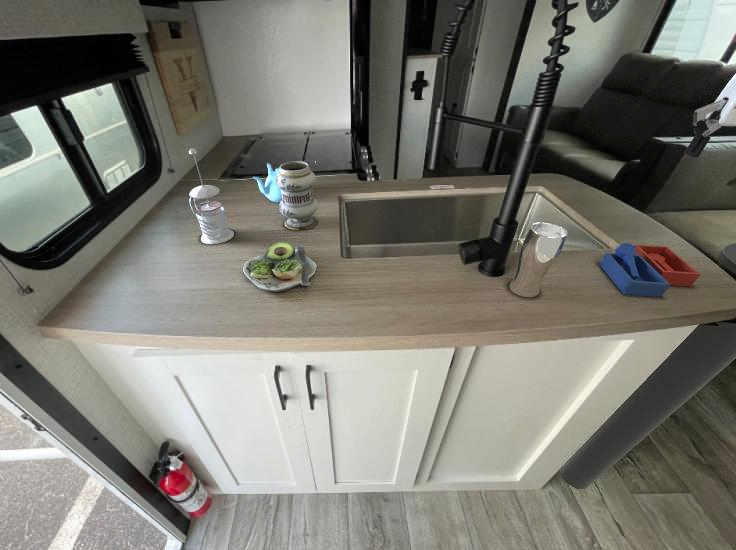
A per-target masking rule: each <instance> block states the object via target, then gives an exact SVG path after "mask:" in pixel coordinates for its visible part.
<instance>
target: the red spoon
mask: <svg viewBox="0 0 736 550" xmlns="http://www.w3.org/2000/svg"><path fill="white" fill-rule="evenodd" d="M648 255H649V256H650V257H651V258H652V259H653V260H654V261H655V262H656V263H657V264H658V265H659V266H660V267H662V268H663V269H664V270H665V271H674V270H673V269H672V268H671V267H670V266H669V265H667V264H666V263H665V262H664V261H665V258H664V257H663V256H661V255H658V254H652V253H651V254H648Z"/></svg>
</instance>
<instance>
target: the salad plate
mask: <svg viewBox="0 0 736 550" xmlns="http://www.w3.org/2000/svg"><path fill="white" fill-rule="evenodd" d="M305 253H306V252H305V248H304V247H303V246H301V245H298V246H297V247H296V248H295V246H294V245H293V244H291V243H289V242H286V241H279V242H276V243H274V244H272V245H270V246H269V247H268V248H267V249H266V253H264V254H261V255H258V256H256V257H255V256H254V257H252V258H251V259H248V260H247V261H246V262H245V263H244V264H243V267H242V271H243V275H244V276H245V278H247V279H248V280H249V281H250V282H251V283H252V284H254V286H256V287H258V289H260V290H262V291H266V292H277V293H280V292H287V291H289V290H292V289H294V288H296V287H297V286H300V285H301V286H302V287H309V286H310V279H311V278H312V277H313V276H314V275H315V272H316V270H317V264H316V262H315V261H314V260H312V259H311V258H310V257H308V256H307V255H306V254H305Z"/></svg>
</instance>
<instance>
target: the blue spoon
mask: <svg viewBox="0 0 736 550" xmlns="http://www.w3.org/2000/svg"><path fill="white" fill-rule="evenodd" d="M614 253H616V255H617V256H618V257H620V258H621V259H622V263H623V266H624V270H625V271H626V273H627V274H628V275H629V276H630V277H631V278H632V279H633V280H635V279H636V278H638V277H639V274H638V271H637V267H636V264H635V260H634V257H633V255H634V254H635V253H636V248H635V247H634V245H633V244H631V243H629V242H623V243H621V244H620V245H618V246H617V247H616V248H615V250H614Z"/></svg>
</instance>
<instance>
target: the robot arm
mask: <svg viewBox="0 0 736 550" xmlns="http://www.w3.org/2000/svg"><path fill="white" fill-rule="evenodd" d="M692 117H693V118H692V123H691V125H692V127H693V133H694V136H693V138H692V139H691V141H690V143H689V144H688V146H687V147H686V151H685V155H687V156H689V157H691V158H698V157H700V155H701V154H702V152H703V151H704V149H705V148H706V146H707V144H708V143H709V142H710V140H711V136H710V135H711V134H713V133H714V132H716V131H717V130H719V129H721V128H722V127H736V73H735V74H734V75H733V77H732V78H731V79H730V80H729V81H728V83H727V84H726V85H725V87H724V88H723V89H722V91H721V92H720V94H719V95H718V96H717V98H716V99H715V101H714V102H712V103H710V104H707V105H704V106H702V107H699V108H697V109H696V110H694V111H693V115H692Z"/></svg>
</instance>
